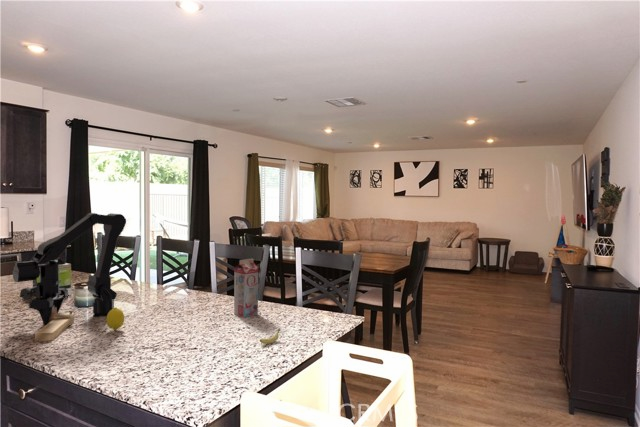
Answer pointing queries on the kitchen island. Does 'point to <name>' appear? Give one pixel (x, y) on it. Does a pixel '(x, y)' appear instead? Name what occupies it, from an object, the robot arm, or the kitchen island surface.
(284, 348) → the kitchen island surface
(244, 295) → the juice carton
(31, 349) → the kitchen island surface
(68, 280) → the tea box
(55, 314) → the chocolate colored brick
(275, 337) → the banana
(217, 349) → the kitchen island surface
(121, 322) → the lemon
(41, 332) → the plank
